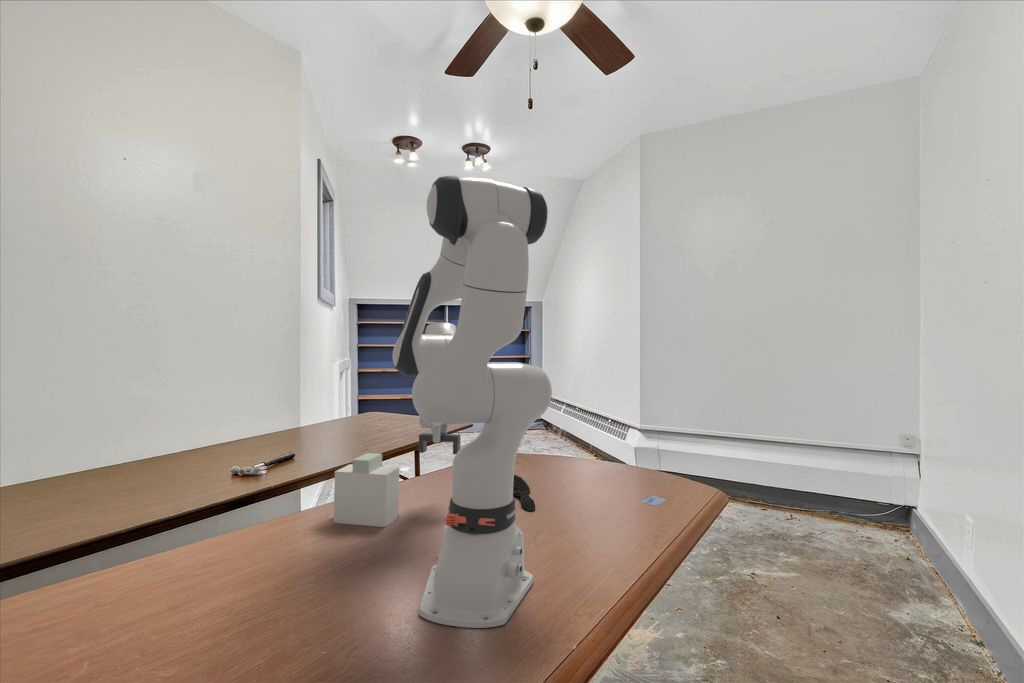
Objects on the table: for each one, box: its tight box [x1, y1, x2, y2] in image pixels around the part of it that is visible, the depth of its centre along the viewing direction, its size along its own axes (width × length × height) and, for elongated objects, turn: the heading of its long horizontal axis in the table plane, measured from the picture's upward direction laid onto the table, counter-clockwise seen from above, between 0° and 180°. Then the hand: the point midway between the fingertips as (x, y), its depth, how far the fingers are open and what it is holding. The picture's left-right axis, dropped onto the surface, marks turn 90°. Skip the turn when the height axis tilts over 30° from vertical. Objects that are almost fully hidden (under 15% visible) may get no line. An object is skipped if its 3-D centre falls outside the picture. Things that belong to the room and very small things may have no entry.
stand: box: [333, 452, 400, 528], centre depth 113 cm, size 13×7×15 cm, turn 80°
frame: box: [418, 432, 461, 455], centre depth 120 cm, size 10×2×4 cm, turn 80°
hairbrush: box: [513, 474, 536, 513], centre depth 132 cm, size 8×4×25 cm
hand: (439, 440), depth 120 cm, fingers closed on frame, 2 cm apart
